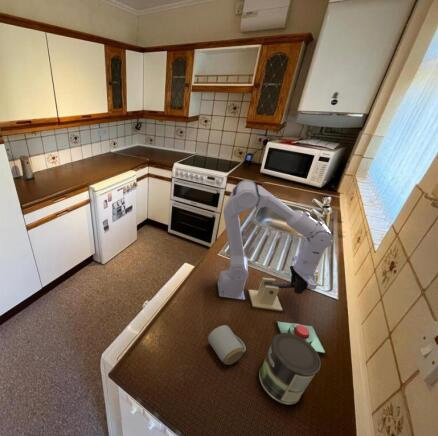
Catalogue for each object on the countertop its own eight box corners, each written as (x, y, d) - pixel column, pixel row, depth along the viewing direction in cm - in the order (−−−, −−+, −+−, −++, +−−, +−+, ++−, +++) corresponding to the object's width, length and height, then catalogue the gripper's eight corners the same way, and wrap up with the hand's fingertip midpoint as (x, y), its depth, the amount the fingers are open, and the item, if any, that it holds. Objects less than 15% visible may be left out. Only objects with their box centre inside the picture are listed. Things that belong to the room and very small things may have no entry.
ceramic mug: (222, 370, 67) (227, 354, 63) (205, 345, 73) (209, 328, 70) (251, 356, 71) (257, 340, 67) (232, 333, 77) (237, 317, 73)
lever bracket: (275, 295, 92) (282, 276, 87) (281, 312, 85) (289, 293, 80) (248, 291, 93) (253, 273, 89) (252, 307, 86) (258, 289, 82)
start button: (296, 337, 73) (298, 334, 72) (292, 327, 76) (294, 323, 75) (309, 339, 73) (311, 336, 72) (304, 329, 76) (306, 325, 75)
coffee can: (257, 392, 62) (271, 361, 55) (260, 357, 70) (273, 326, 63) (302, 413, 58) (324, 382, 51) (299, 374, 66) (318, 342, 60)
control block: (284, 349, 73) (287, 342, 71) (275, 323, 80) (278, 317, 79) (323, 355, 71) (327, 349, 70) (311, 328, 79) (314, 323, 77)
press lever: (300, 285, 84) (300, 278, 83) (303, 291, 82) (304, 285, 81) (264, 286, 88) (263, 280, 86) (266, 292, 85) (266, 286, 84)
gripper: (333, 275, 70) (317, 307, 77) (312, 246, 83) (300, 276, 89) (308, 272, 71) (294, 303, 78) (291, 244, 84) (280, 274, 90)
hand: (295, 289), depth 84 cm, fingers closed on press lever, 3 cm apart
